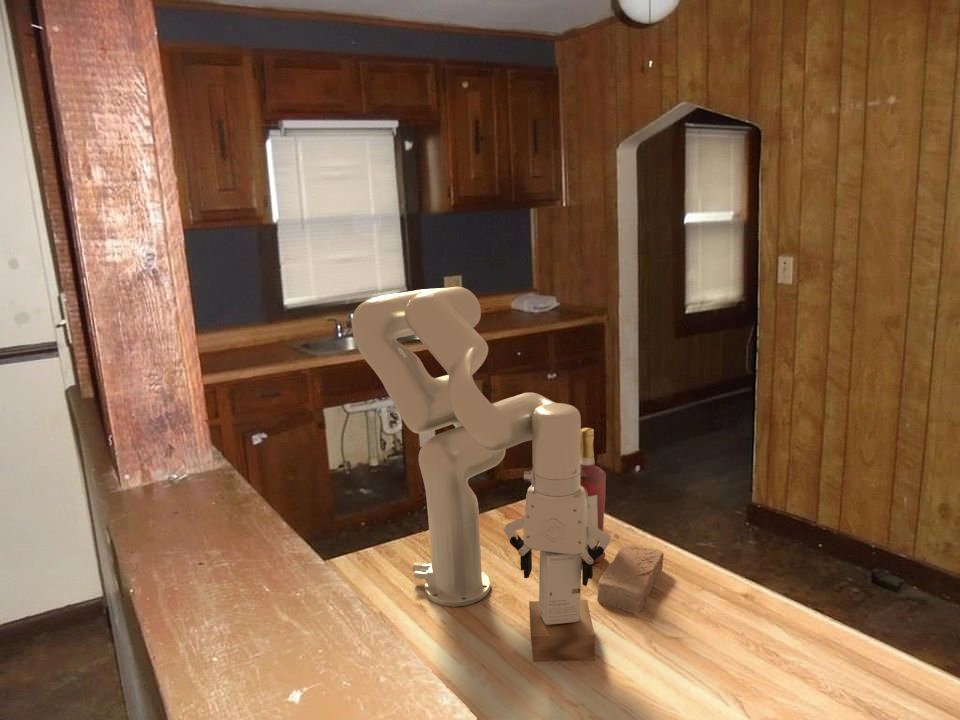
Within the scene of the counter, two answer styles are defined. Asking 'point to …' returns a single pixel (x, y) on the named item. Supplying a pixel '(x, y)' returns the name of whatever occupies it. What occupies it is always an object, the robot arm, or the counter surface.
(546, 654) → the walnut block
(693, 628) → the counter surface
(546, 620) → the skincare box
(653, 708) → the counter surface
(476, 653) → the counter surface
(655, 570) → the brick
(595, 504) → the liquor
